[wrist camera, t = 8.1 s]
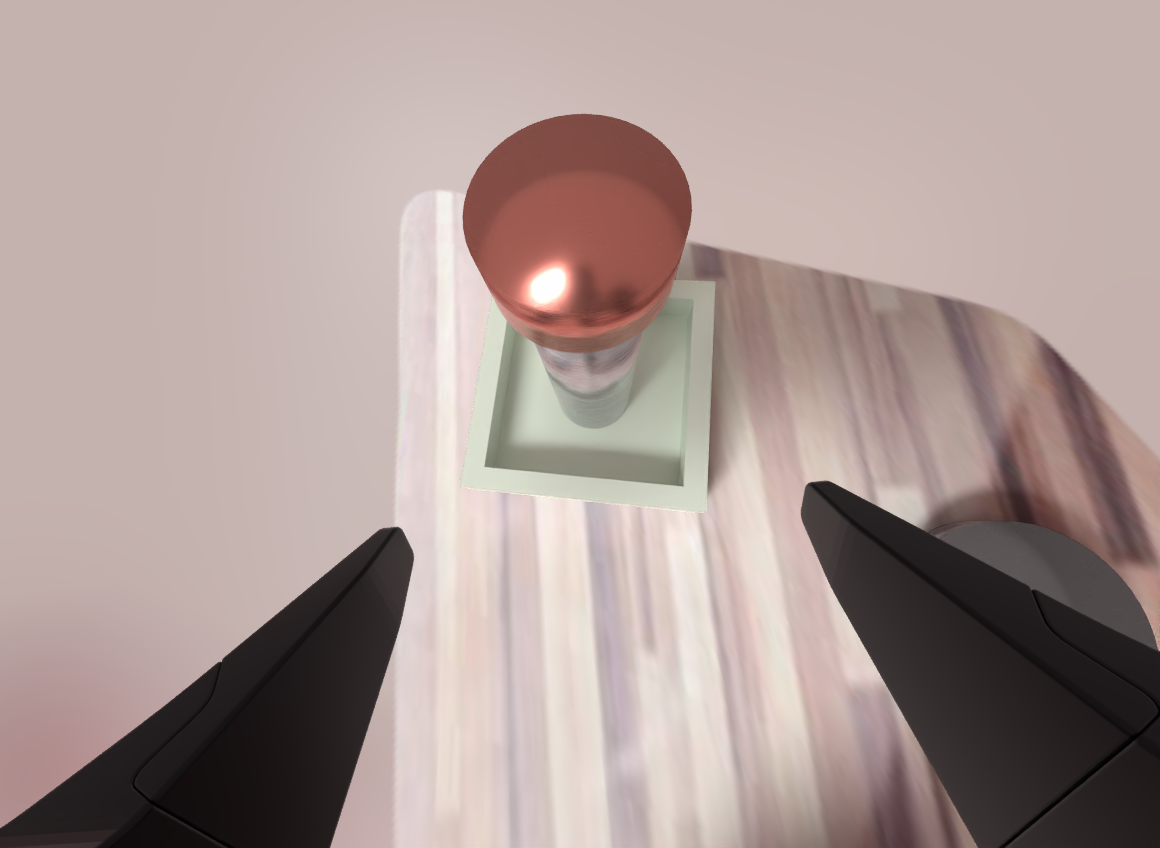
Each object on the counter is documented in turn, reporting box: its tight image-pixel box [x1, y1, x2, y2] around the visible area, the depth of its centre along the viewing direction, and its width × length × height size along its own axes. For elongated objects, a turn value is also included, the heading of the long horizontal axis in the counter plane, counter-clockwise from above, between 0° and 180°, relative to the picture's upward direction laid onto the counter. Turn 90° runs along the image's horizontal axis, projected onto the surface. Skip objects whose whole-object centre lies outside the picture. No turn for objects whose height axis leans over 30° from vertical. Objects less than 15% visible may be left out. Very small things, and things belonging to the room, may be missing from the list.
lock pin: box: [463, 114, 692, 429], centre depth 15 cm, size 5×5×13 cm
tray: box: [460, 280, 716, 513], centre depth 21 cm, size 11×11×2 cm
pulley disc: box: [928, 521, 1158, 650], centre depth 17 cm, size 9×9×2 cm
